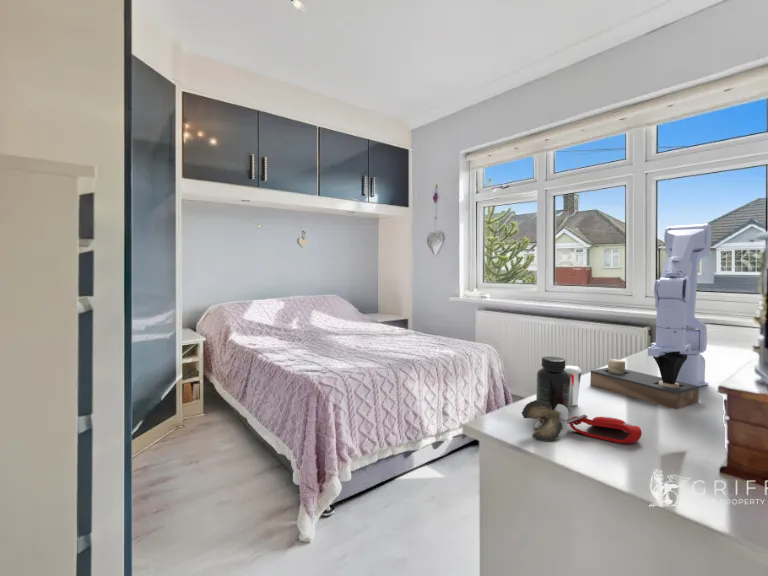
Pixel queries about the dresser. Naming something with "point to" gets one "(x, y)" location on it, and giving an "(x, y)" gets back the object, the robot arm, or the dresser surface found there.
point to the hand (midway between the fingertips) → (668, 383)
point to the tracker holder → (610, 423)
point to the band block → (646, 388)
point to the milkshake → (573, 382)
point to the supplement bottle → (553, 382)
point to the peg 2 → (669, 384)
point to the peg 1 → (616, 366)
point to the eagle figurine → (546, 419)
